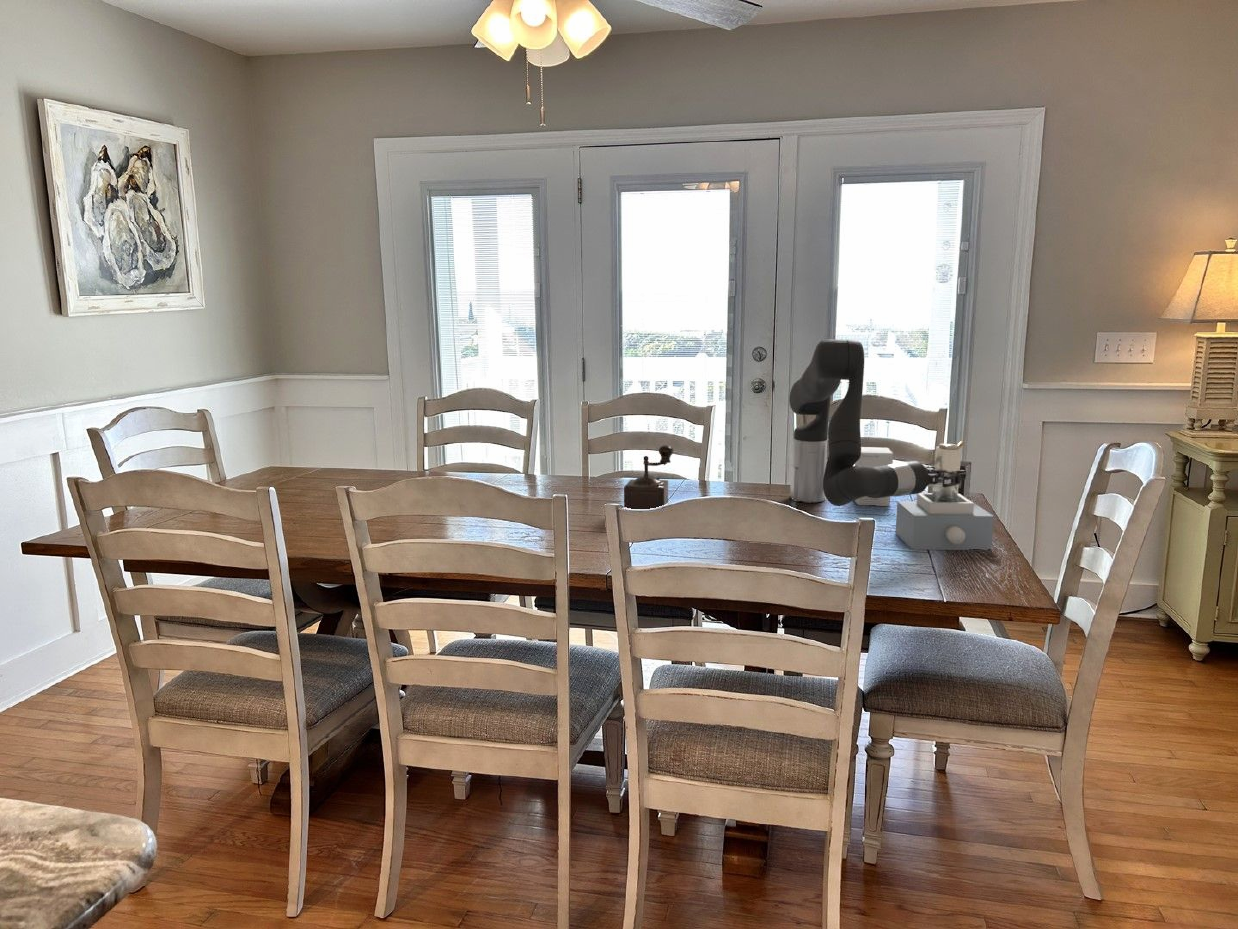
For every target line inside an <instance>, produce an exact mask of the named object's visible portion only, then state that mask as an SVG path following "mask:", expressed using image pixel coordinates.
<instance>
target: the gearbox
mask: <svg viewBox="0 0 1238 929" xmlns="http://www.w3.org/2000/svg"><path fill="white" fill-rule="evenodd" d="M896 503H897V504H896V516H895V517H896V518H895V519H896V521H895V532H894V533H895V534H896V535H897V536H898V537H899V539H901V541H903V542H904V544H906V545H907V546H908V547H909V548H910V550H916V551H917V550H918V551H919V550H924V551H925V550H927V551H930V550H931V551H932V550H933V551H934V550H935V551H939V550H940V551H970V550H969V549H981V550H980V551H983V550H982V549H985V550H984V551H992V546H993V534H994V522H995V521H994V520H995V515H993V514H991V513H990V512H989V511H987V510H985V509H984V508H983V507H981V506H979V505H978V504H977V503H974V502H973V501H971V500H970V499H969V500H968V499H967V498H965V497H964V496H962V495H961V494H959V493H958V498H957V502H932V493H928V492H925V493H923V492H921V493H919V494H916V501H915V500H914V501H911V500H909V501H908V500H907V501H906V500H905V501H904V500H903V501H901V500H900V501H899V500H897V502H896ZM986 549H987V550H986ZM988 549H990V550H988Z"/></svg>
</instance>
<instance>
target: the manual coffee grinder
mask: <svg viewBox="0 0 1238 929" xmlns="http://www.w3.org/2000/svg"><path fill="white" fill-rule="evenodd" d="M658 454H660V455H659V456H660V460H659V462H650V461H649V456H648V455H644V456H643V465H644V474H643V475H642V476H639V477H637V478H635V479H630V480H629V481H627V483H626V484H625V485H624V487H623V508H624V507H627V508H631V509H650V508H656V507H659V506H662V505H664V504H666V503H668V504H669V480H668V479H667V480H665V479H660V478H661V476H660V475H659V476H658V477H656V476H654V475H653V474H651V475H650V474H649V466H650V467H651V466H652V467H658V466H662V465H664V466H666V465H667V464H671V463H672V462H671V456H672V455H673V454H674V448H673V447H672V446H671V445H661V446H660V447H659V448H658Z"/></svg>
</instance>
